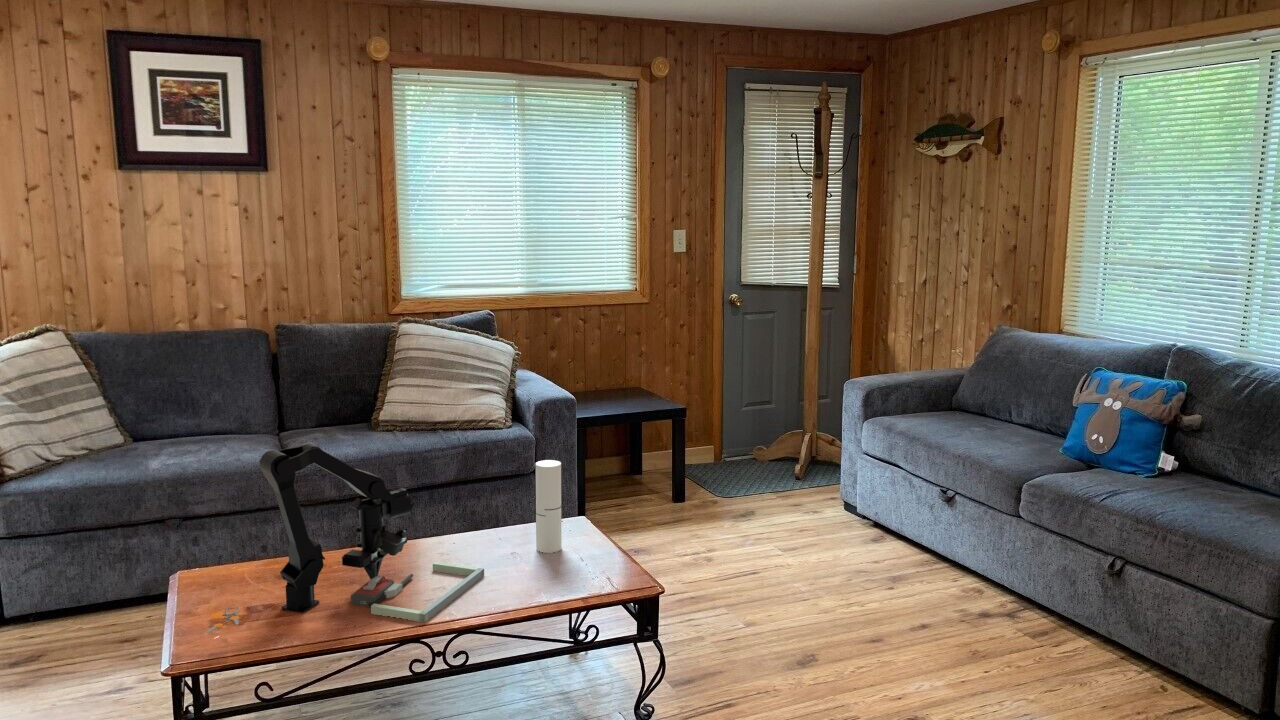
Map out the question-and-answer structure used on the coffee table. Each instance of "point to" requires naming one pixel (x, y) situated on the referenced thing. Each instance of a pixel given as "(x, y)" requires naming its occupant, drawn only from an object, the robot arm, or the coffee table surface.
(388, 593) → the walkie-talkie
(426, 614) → the green u-shaped bracket
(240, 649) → the coffee table surface
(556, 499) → the cylindrical container
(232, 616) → the key chain
